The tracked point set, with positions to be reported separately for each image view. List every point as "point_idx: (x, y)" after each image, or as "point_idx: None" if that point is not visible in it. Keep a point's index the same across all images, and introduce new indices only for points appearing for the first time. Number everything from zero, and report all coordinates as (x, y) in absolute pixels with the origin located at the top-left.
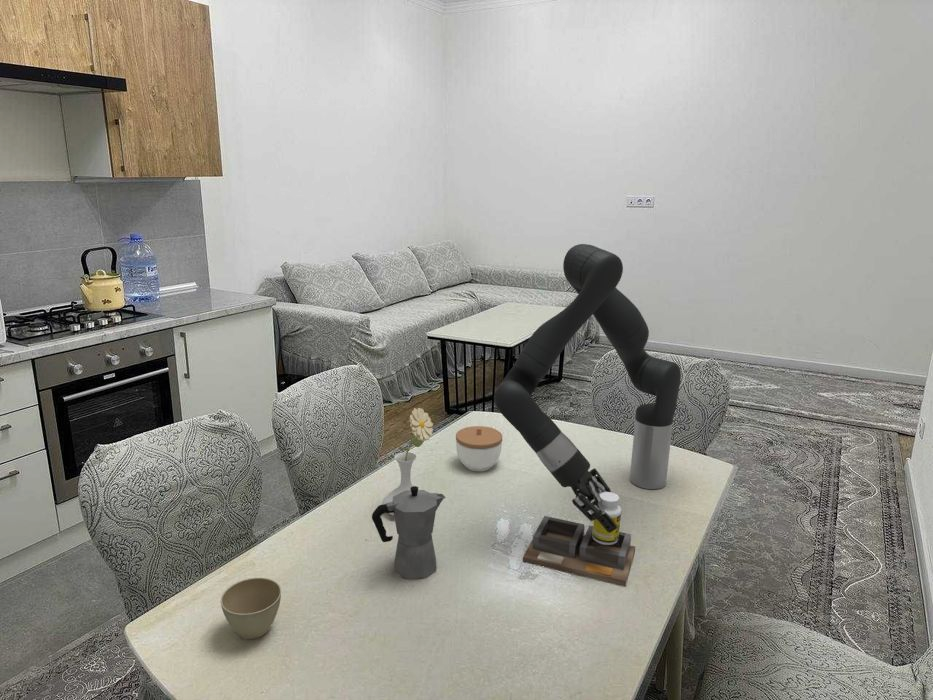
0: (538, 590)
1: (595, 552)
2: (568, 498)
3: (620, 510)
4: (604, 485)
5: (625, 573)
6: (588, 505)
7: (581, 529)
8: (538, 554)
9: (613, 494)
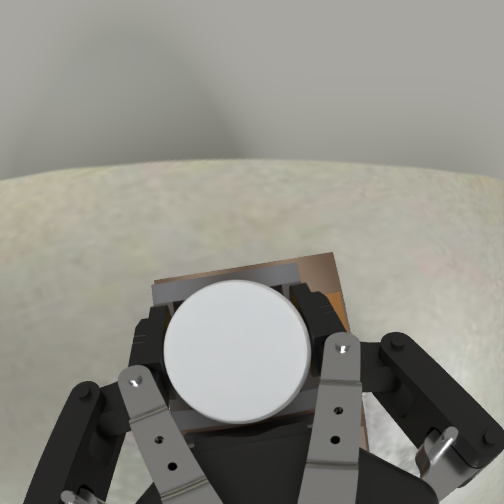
0: None
1: None
2: None
3: (229, 281)
4: (86, 427)
5: (301, 263)
6: (462, 393)
7: None
8: None
9: (187, 335)
